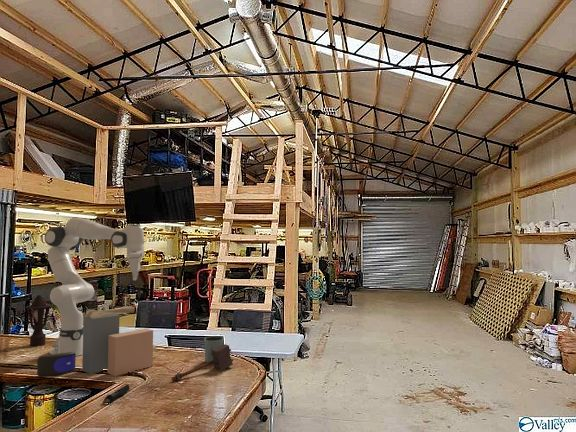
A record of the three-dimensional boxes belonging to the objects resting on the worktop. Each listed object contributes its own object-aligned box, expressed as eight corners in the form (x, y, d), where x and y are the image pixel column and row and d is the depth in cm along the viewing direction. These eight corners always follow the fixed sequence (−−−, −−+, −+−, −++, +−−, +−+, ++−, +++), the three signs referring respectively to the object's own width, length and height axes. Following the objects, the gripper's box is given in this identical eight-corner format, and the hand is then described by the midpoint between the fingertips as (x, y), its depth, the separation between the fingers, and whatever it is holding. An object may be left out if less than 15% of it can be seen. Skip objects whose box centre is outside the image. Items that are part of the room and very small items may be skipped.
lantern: (30, 342, 269) (32, 293, 271) (55, 341, 271) (56, 293, 272) (18, 348, 255) (20, 297, 256) (45, 347, 256) (46, 296, 258)
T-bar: (86, 317, 213) (86, 310, 213) (129, 310, 231) (129, 305, 231) (93, 318, 209) (93, 312, 209) (136, 312, 226) (136, 306, 227)
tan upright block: (107, 373, 208) (108, 335, 209) (145, 363, 223) (145, 328, 224) (115, 376, 203) (115, 337, 204) (152, 366, 219) (153, 330, 219)
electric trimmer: (132, 391, 184) (132, 384, 184) (110, 405, 169) (110, 396, 169) (123, 391, 185) (124, 383, 185) (102, 404, 169) (102, 396, 170)
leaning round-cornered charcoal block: (37, 378, 200) (38, 358, 200) (36, 376, 204) (37, 355, 204) (76, 372, 209) (76, 352, 209) (74, 370, 213) (75, 350, 213)
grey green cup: (213, 357, 235) (214, 335, 236) (227, 360, 229) (227, 337, 230) (199, 361, 227) (200, 338, 227) (213, 365, 221) (213, 341, 221)
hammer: (234, 364, 217) (231, 345, 216) (178, 394, 194) (174, 373, 193) (225, 361, 222) (222, 343, 221) (170, 390, 198) (166, 370, 197)
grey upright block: (82, 370, 212) (83, 317, 213) (109, 364, 223) (110, 313, 224) (90, 374, 206) (92, 319, 207) (118, 367, 217) (119, 315, 218)
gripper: (131, 253, 244) (131, 278, 243) (127, 254, 224) (127, 281, 223) (142, 253, 245) (142, 277, 245) (140, 254, 226) (140, 280, 225)
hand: (135, 279), depth 234 cm, fingers open, 8 cm apart
